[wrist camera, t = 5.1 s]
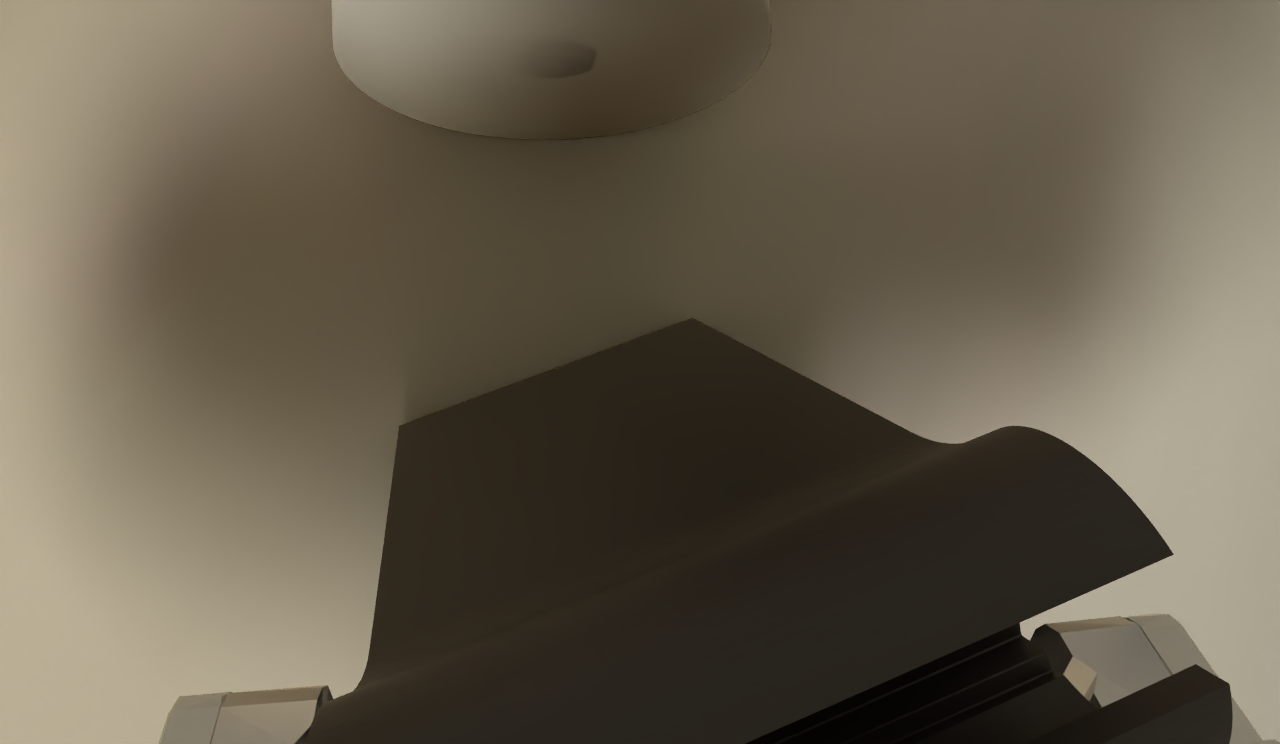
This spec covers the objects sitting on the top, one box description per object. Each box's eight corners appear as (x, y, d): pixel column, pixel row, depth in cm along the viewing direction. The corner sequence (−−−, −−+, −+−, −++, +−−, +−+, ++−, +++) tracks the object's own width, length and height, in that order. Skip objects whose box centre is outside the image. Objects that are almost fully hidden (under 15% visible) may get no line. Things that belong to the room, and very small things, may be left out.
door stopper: (402, 424, 18) (106, 296, 6) (691, 320, 18) (952, 20, 7) (565, 884, 17) (610, 1819, 5) (859, 754, 18) (1491, 1294, 6)
